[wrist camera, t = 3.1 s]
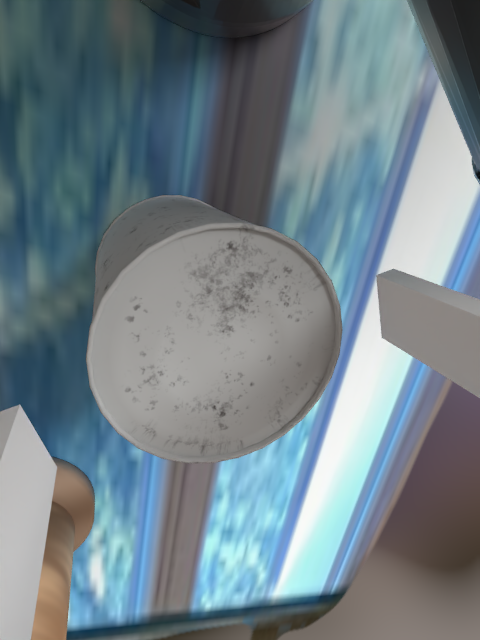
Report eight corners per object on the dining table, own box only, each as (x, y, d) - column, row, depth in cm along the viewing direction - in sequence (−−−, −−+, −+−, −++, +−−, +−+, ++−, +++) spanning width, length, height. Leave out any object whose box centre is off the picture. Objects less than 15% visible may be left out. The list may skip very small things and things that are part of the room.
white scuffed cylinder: (272, 266, 27) (384, 336, 16) (178, 366, 28) (225, 498, 17) (169, 158, 23) (228, 155, 12) (60, 279, 23) (19, 382, 12)
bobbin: (-77, 489, 25) (-281, 853, 12) (64, 435, 27) (24, 702, 14) (-8, 573, 29) (-103, 919, 16) (112, 521, 31) (118, 795, 17)
